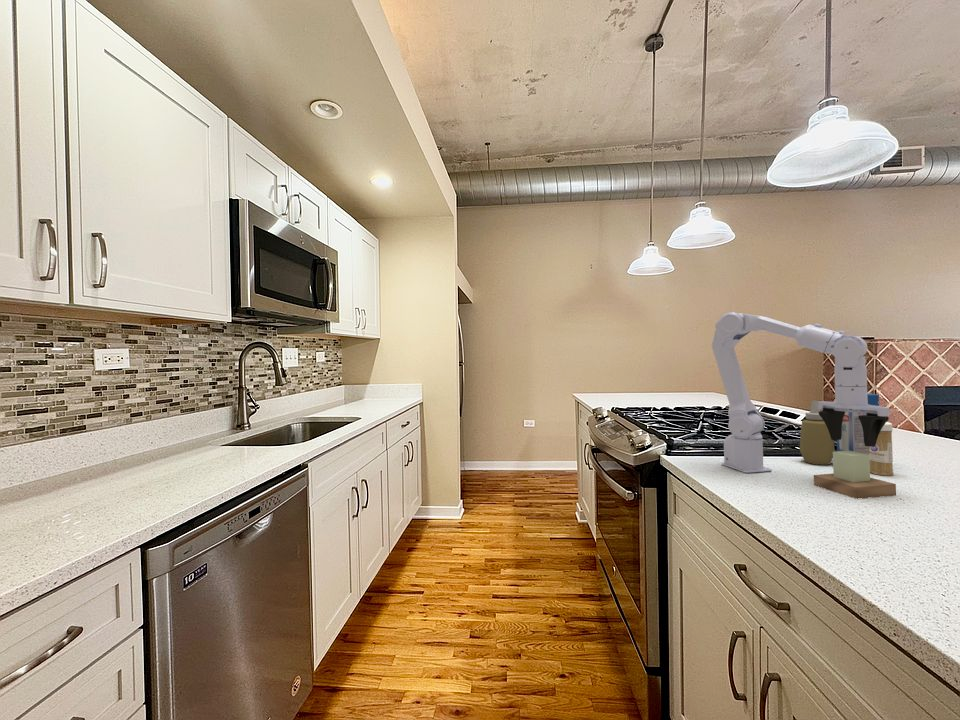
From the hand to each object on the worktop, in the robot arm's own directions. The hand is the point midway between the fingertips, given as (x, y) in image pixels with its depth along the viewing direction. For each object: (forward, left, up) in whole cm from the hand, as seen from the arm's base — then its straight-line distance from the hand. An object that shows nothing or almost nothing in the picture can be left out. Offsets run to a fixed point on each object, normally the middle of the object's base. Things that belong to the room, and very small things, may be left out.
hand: (852, 442), depth 97 cm
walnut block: (+2, -3, -11) cm, 11 cm away
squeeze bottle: (-20, +11, -11) cm, 25 cm away
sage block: (+2, -3, -8) cm, 9 cm away
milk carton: (-17, +21, -11) cm, 29 cm away
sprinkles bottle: (-7, +16, -11) cm, 21 cm away
